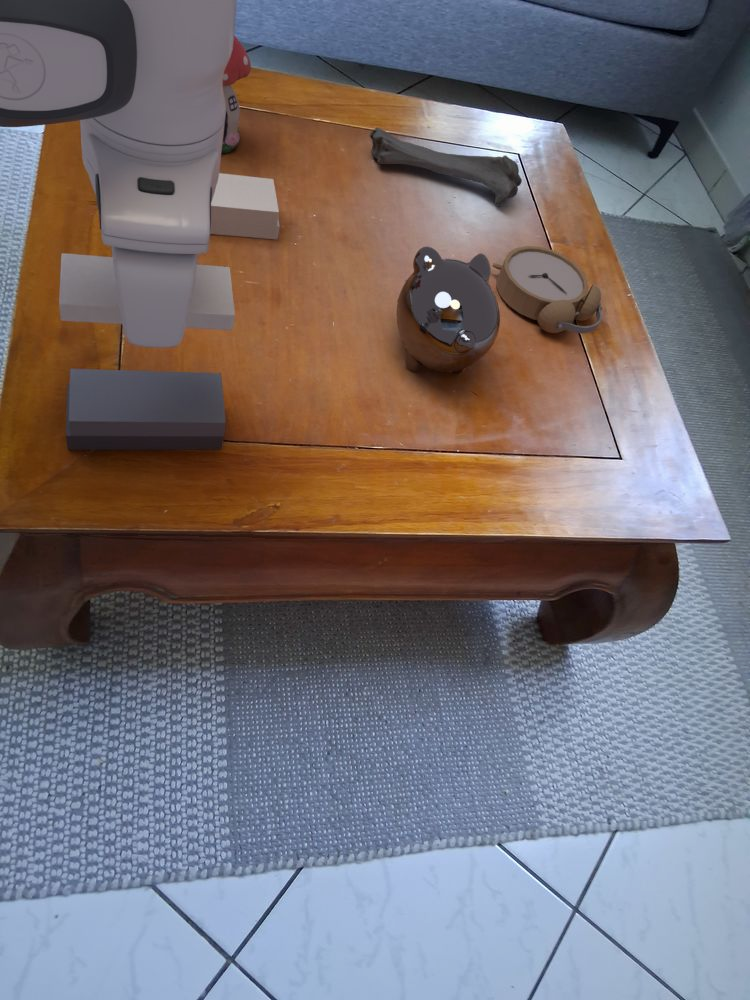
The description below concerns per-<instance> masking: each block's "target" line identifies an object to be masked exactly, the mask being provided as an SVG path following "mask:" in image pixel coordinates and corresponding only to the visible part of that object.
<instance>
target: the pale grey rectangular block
mask: <svg viewBox="0 0 750 1000" xmlns="http://www.w3.org/2000/svg"><path fill="white" fill-rule="evenodd" d="M231 275H232V274H231V268H230V267H229V266H221V265H210V264H209V265H207V264H198V263H197V267H196V275H195V282H194V287H193V293H192V298H191V304H190V309H189V314H188V319H187V324H186V329H197V330H198V329H199V330H215V331H219V330H220V331H233V330H234V325H235V324H234V323H235V318H236V310H235V302H234V294H233V293H234V292H233V284H232V276H231ZM59 276H60V277H59V299H58V307H59V315H60V321H62V322H78V323H93V324H94V323H96V324H113V325H122V319H121V312H120V306H119V299H118V292H117V285H116V278H115V271H114V264H113V257H112V256H100V255H90V254H76V253H64V252H62V253H61V254H60V275H59Z"/></svg>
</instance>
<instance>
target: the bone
mask: <svg viewBox="0 0 750 1000" xmlns="http://www.w3.org/2000/svg"><path fill="white" fill-rule="evenodd" d="M369 137H370V139H371V140H372V142H371V143H372V147H371V156H372V157H373V158H375V159H376V160H377V164H379V165H407V166H413V167H418V168H422V169H423V168H424V169H427V170H429V171H432V172H434V173H437V174H440V175H441V174H442V175H446V176H451V177H453V178H457V179H462V180H466V181H470V182H474V183H479V184H483V185H484V186H486V187H487V188H488V189H490V190H491V191H492V192H493V193H494V197H495V201H494V203H495V206H497V207H501V206H503V205H504V204H505V203H506V202H507V200H508V199H510V198H514V197H515V196H517V194H518V192H519V188H518V187H520V186H521V185H522V182H523V180H522V178H521V176H520V174H519V173H520V169H519V165H518V163H517V162H516V161H515V160H514V159H512V158H510V157H509V156H508V155H506V154H505V155H503V156H491V155H489V156H488V155H483V156H482V155H465V154H454V153H446V152H441V151H437V150H433V149H431V148H428V147H425V146H422V145H419V144H415V143H412V142H409V141H404V140H401V139H399V138H397V137H395V136H393V135H392V134H390V133H388V132H387V131H386V130H385V129H384V130H383V129H381V127H380V128H379V127H375V129H373V130H372V131H371V132H370V134H369Z"/></svg>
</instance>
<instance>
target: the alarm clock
mask: <svg viewBox="0 0 750 1000" xmlns="http://www.w3.org/2000/svg"><path fill="white" fill-rule="evenodd" d="M492 267H493V268H495V269H497V270H499V273H498V275H497V276H496V289H497V291H498V294H499V296H500V297H501V299H502V300H503V301H504V302H505V303H506V304H507V306H509V308H511V309H513V311H515V312H517V313H518V314H520V315H522V316H525V317H527V318H529V319H531V320H535V321H537V324H538V325H539V327H540V328H541V330H543V331H544V332H546V333H549V334H558V333H561V332H563V331H565V330H566V331H569V332H572V333H574V334H575V333H576V334H589V333H592V332H593V331H595V330H597V328H598V327H599V326H600V324H601V322H602V319H603V315H602V310H603V306H601V305H602V304H601V300H602V293H601V290H600V288H599V287H598V286H597V285H596V284H594V283H593V284H592V285H591V287H589V282H588V281H589V280H588V278H587V276H586V274H585V273H584V271H583V269H581V268H580V266H578V264H577V263H576V262H575V261H573V260H572V259H570V258H569V257H567V256H566V255H564V254H562V253H560V252H558V251H555V250H553V249H549V248H546V247H542V246H536V245H535V246H534V245H531V246H530V245H525V246H519V247H516V248H514V249H513V250H511V251H508V253H507V254H506V256H505V258H504V260H503V264H501V263H493V264H492ZM589 288H590V289H589ZM579 307H580V308H579ZM594 314H595V318H596V322H595V323H594V324H590V325H585V326H584V325H577V324H573V322H574V321H575V320H577V321H583V322H584V321H587V320H588V319H590V318H592V316H594Z"/></svg>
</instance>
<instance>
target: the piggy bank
mask: <svg viewBox="0 0 750 1000" xmlns="http://www.w3.org/2000/svg"><path fill="white" fill-rule="evenodd" d="M412 262H413V263H412V267H413V272H412V273H411V274H410V275H409V277H407V279H406V280H405V282H404V283H403V286H402V287H401V290H400V292H399V294H398V299H397V301H396V302H397V303H396V313H395V314H396V315H395V316H396V325H397V330H398V334H399V336H400V337H399V338H400V339H401V341H402V344H403V346H404V348H405V349H406V350H407V352H406V356H405V359H404V360H405V362H404V363H405V367H406V368H407V369H408V370H410V371H412V372H415V371H419V370H420V369H421V368H422V367H423V366H424V367H426V368H428V369H430V370H433V371H437V372H443V373H452V374H454V375H460V374H462V373H463V372H464V370H465V369H467V368H469V367H472V366H473V365H475V364H476V363H478V362H479V361H480V360H482V359H483V358H484V357H485V356H486V355H487V354H488V353H489V351H490V350H491V349H492V347H493V345H494V344H495V342H496V340H497V337H498V334H499V331H500V326H501V314H500V313H501V312H500V308H499V303H498V300H497V296H496V295H495V292H494V290H493V288H492V286H491V285H490V278H491V276H492V275H491V274H492V269H491V264H490V260H489V258H488V257H487V256H486V254H484V253H482V252H480V253H477V254H476V255H475V256H474V257H473V258H472V259H470V261H469V262H465V261H463V260H459V259H455V258H442V256H441V254H440V253H439V252H438V251H437V250H436V249H434V248H433V247H431V246H423V247H421V248H419V249H418V250H417V251H416V253H415V255H414V257H413V261H412Z"/></svg>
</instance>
